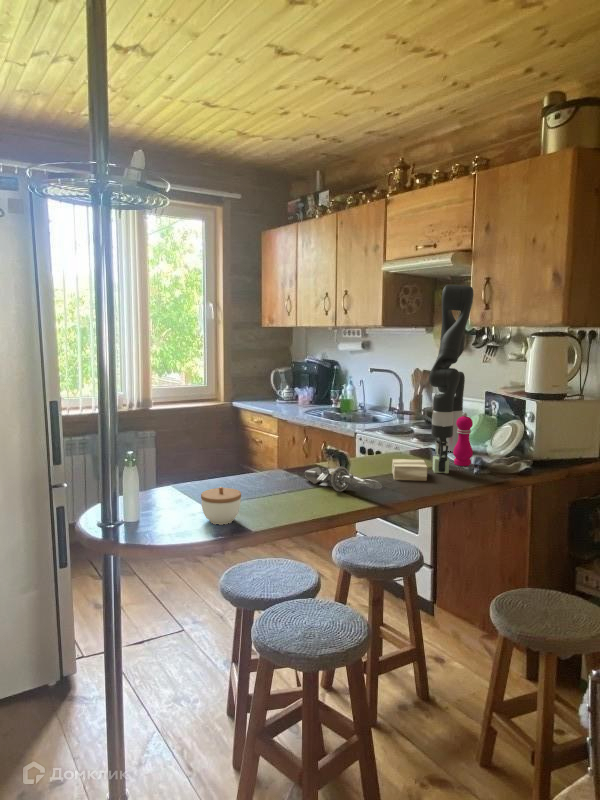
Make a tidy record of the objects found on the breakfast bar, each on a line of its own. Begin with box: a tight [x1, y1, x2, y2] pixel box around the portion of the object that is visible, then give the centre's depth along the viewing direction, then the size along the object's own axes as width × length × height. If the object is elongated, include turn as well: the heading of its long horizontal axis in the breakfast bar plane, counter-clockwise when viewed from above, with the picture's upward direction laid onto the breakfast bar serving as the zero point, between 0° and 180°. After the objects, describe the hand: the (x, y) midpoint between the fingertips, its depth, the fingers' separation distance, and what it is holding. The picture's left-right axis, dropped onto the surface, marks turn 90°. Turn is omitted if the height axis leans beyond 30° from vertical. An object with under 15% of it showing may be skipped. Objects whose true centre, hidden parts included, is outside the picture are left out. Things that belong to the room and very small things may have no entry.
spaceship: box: [304, 466, 384, 492], centre depth 191 cm, size 8×35×8 cm
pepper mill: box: [452, 411, 474, 467], centre depth 227 cm, size 7×7×20 cm
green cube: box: [432, 455, 450, 474], centre depth 217 cm, size 5×5×5 cm
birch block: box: [391, 458, 428, 482], centre depth 210 cm, size 11×11×5 cm
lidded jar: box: [200, 486, 242, 526], centre depth 161 cm, size 11×11×9 cm
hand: (440, 469), depth 217 cm, fingers closed on green cube, 5 cm apart
